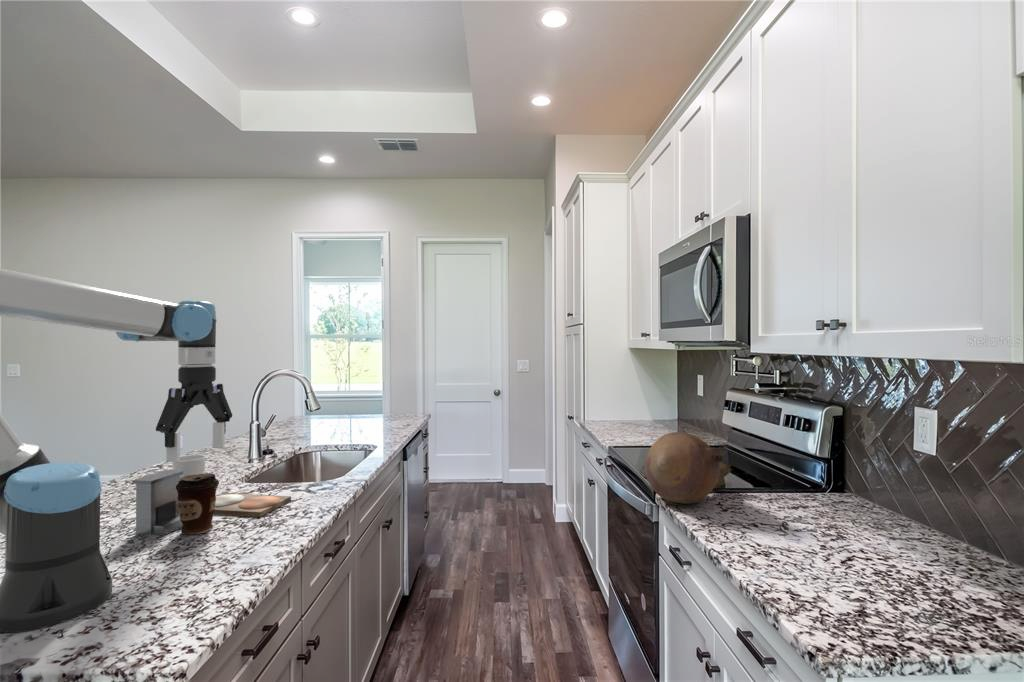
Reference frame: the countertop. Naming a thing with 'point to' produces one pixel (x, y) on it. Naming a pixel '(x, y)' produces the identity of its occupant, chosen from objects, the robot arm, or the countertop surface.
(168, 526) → the miniature fireplace
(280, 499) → the walnut board
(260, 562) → the countertop surface
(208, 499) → the coffee cup
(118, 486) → the countertop surface
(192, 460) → the cup
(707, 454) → the jug
